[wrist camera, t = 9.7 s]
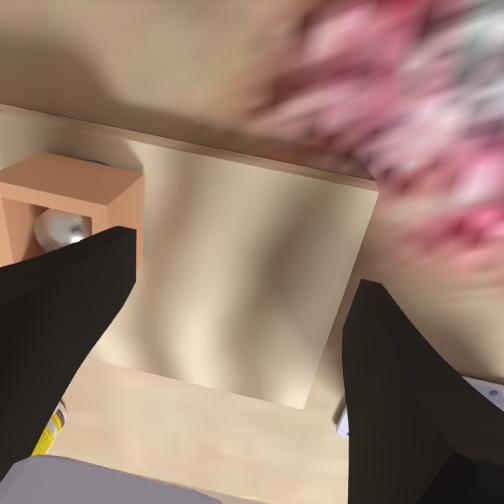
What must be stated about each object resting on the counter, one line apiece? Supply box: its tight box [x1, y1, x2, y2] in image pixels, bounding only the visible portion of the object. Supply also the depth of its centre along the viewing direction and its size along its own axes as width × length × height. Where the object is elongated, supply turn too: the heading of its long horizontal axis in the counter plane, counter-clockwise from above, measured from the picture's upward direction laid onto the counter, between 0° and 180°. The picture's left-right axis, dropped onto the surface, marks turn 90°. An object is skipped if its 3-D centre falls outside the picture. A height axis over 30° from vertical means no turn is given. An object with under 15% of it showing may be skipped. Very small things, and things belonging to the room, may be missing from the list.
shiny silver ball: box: [34, 159, 109, 252], centre depth 20 cm, size 5×5×5 cm
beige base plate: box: [0, 104, 379, 410], centre depth 24 cm, size 20×16×2 cm
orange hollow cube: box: [0, 151, 145, 272], centre depth 19 cm, size 5×5×5 cm
